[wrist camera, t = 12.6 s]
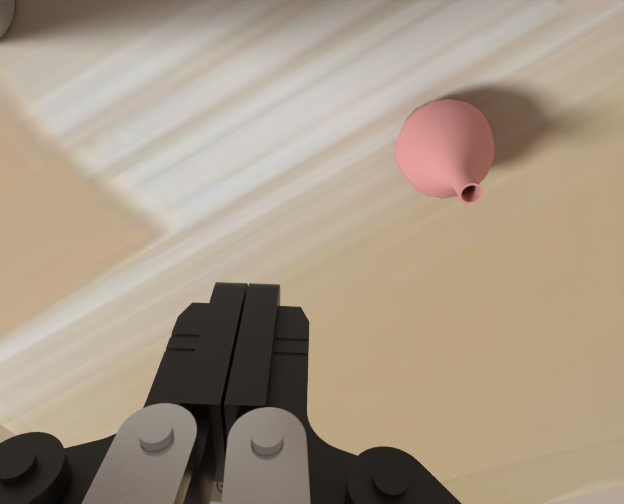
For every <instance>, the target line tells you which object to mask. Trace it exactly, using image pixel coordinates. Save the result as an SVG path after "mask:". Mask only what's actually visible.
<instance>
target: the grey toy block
mask: <svg viewBox="0 0 624 504" xmlns="http://www.w3.org/2000/svg"><path fill="white" fill-rule="evenodd" d="M222 491H223V482H214V484H213V489H212V494H211V499H210V504H221V501H222Z"/></svg>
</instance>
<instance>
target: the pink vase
mask: <svg viewBox="0 0 624 504" xmlns="http://www.w3.org/2000/svg"><path fill="white" fill-rule="evenodd" d="M494 155H495V145H494V139H493V134H492V131H491V127H490V124H489V123H488V121H487V119H486V118H485V116H484V115H483V113H482V112H481V111H480V110H479V109H477V108H476V107H474V106H473V105H471V104H470V103H468V102H464V101H459V100H454V99H442V100H436V101H430V102H428V103H426V104H424V105H422V106H420V107H418V108H416V109H415V110H414V111H413V112H412V114H411V115H410V116H409V117H408V118H407V119H406V121H405V123H404V125H403V127H402V129H401V131H400V133H399V135H398V137H397V140H396V150H395V157H396V160H397V164H398V167H399V170H400V171H401V173H402V174H403V175H404V176H405V178H406V179H407V180H408V181H409V182H410V183H411V184H412V185H413V186H414V187H415V189H417V190H419V191H420V192H422V193H424V194H426V195H427V196H431V197H437V198H448V197H455V196H458V197H459V199H460V200H461V201H462V202H463V203H465V204H473V203H475V202H477V201H478V200H479V199H480V198H481V196H482V193H483V191H482V188H481V186H480V185H479V183H480V182H481V181H482V180H483V179H484V178H485V176H486V175H487V173H488V171H489V170H490V168H491V167H492V164H493V159H494Z"/></svg>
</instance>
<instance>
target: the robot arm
mask: <svg viewBox="0 0 624 504" xmlns="http://www.w3.org/2000/svg"><path fill="white" fill-rule="evenodd" d="M14 10H15V0H0V37H1V36H2V35H3V34H5V33H6V31H7V29H8V28H9V26H10V24H11V22H12V18H13V15H14ZM308 348H309V321H308V319H307V317H306V316H305V314H304V312H303V310H302V308H301V307H290V306H280V285H276V284H252V283H250V284H249V286H248V284H247V283H224V282H216V284H215V286H214V289H213V293H212V296H211V299H210V303H192V304H191V305H189V306H188V307H187V308H186V309H185V310H184V311H183V312H182V313H181V314H180V315H179V316H178V318H177V321H176V323H175V326H174V329H173V331H172V336H171V337H170V339H169V342H168V344H167V347H166V352H164V355H163V358H162V360H161V363H160V366H159V368H158V371H157V374H156V376H155V379H154V382H153V384H152V387H151V390H150V392H149V395H148V398H147V400H146V403H145V405H144V407H143V408H142V409H140V410H139V411H137V412H135V413H134V414H132V415H131V416H130V417H129V418H128V419H126V420H125V422H124V423H123V424H122V425H121V427H120V429H119V430H118V432H117V433H116V434H114V435H112V436H109V437H107V438H104V439H101V440H97V441H93V442H89V443H85V444H81V445H77V446H73V447H68V448H63V445H62V443H61V442H60V440H58V439H57V438H56V437H55V436H53V435H51V434H47V433H43V432H30V433H25V434H20V435H17V436H14V437H12V438H10V439H7V440H5V441H4V442H2V443H0V504H210V499H211V494H212V489H213V484H214V482H223V491H222V501H221V504H461V503H460V502H459V501H458V500H457V499H456V498H455V497H454V496H453V495H452V494H451V493H450V492H449V491H448V490H447V489H446V488H445V487H444V486H443V485H442V484H441V483H440V482H439V481H438V480H437V479H436V478H435V477H434V476H433V475H432V474H431V473H430V472H429V471H428V470H427V469H426V468H425V467H424V466H423V465H422V464H421V463H420V462H419V461H417V460H416V459H415V458H414V457H413V456H411V455H409V454H408V453H406V452H404V451H402V450H400V449H396V448H393V447H374V448H371V449H368V450H366V451H364V452H362V453H361V454H359V455H358V456H357V455H354V454H351V453H348V452H345V451H343V450H340V449H337V448H335V447H333V446H331V445H329V444H327V443H326V442H324V441H323V440H322V439H321V438H319V437H318V436H317V434H316V433H315V432H314V431H313V429H312V428H311V426H310V423H309V421H308V417H307V385H308Z"/></svg>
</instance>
